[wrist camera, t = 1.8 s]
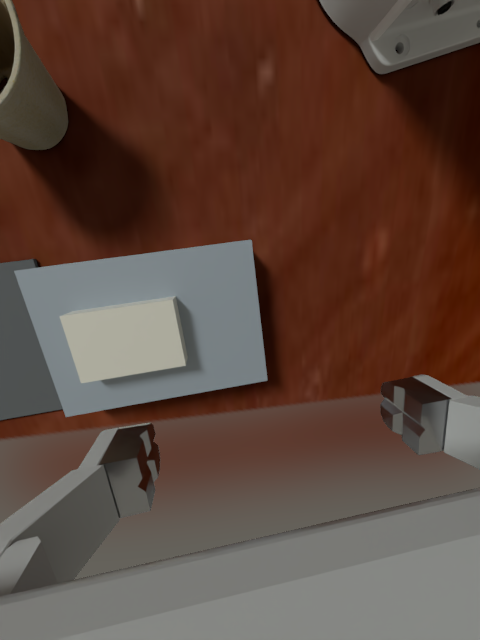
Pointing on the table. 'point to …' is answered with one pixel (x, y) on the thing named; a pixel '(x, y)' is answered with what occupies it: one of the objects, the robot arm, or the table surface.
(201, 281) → the plate
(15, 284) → the mat
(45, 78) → the flower pot
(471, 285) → the table surface
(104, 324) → the cream flat block
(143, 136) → the table surface
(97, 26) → the table surface
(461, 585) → the robot arm
